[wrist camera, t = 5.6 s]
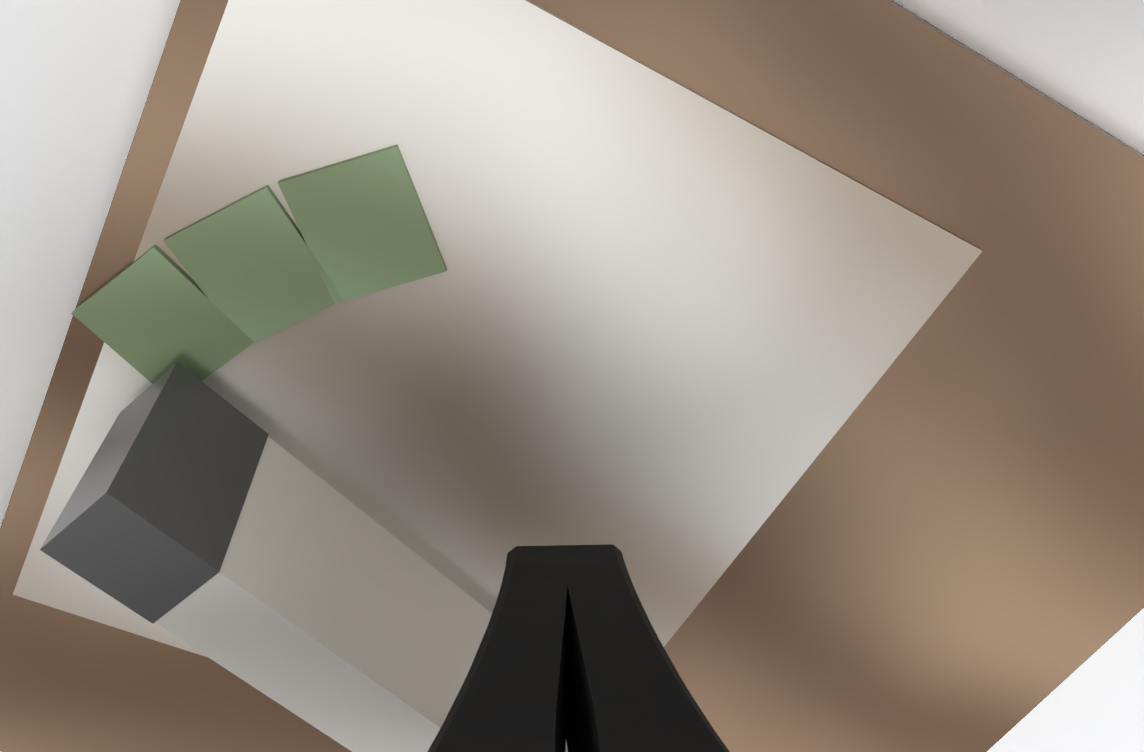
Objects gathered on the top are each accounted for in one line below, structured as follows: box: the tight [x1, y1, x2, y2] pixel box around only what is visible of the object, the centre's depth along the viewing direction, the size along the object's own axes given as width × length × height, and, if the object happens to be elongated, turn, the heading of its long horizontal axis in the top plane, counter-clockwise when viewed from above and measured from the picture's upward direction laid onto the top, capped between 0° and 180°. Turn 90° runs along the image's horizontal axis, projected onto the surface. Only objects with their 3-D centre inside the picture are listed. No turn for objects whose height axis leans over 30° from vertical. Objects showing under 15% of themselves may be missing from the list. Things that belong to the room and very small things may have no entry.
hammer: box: [40, 362, 568, 752], centre depth 16 cm, size 10×3×3 cm, turn 40°
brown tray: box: [0, 0, 1144, 752], centre depth 18 cm, size 18×18×1 cm
